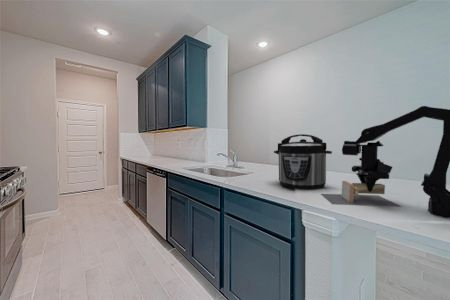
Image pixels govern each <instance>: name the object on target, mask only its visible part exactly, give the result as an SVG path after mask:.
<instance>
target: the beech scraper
mask: <svg viewBox="0 0 450 300" xmlns="http://www.w3.org/2000/svg"><path fill="white" fill-rule="evenodd" d="M351 184H353V185H354V195H360V194H364V195H385V191H386V190H385V189H386V184H383V183H375V185H374V187H373V189H372V191H371V192H369V191H368V189H367V186H366V183H361V182H352V183H351Z"/></svg>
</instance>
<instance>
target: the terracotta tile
mask: <svg viewBox="0 0 450 300" xmlns="http://www.w3.org/2000/svg"><path fill="white" fill-rule="evenodd" d="M341 194H342V198H344V199H345V200H347V201H348V202H349V203H353V199H354V185H353V184H352V183H351V182H349V181H347V180H342V182H341Z"/></svg>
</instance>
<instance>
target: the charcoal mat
mask: <svg viewBox="0 0 450 300" xmlns="http://www.w3.org/2000/svg"><path fill="white" fill-rule="evenodd" d="M320 195H321V196H322V197H323V198H324V199H325V200H327V201H328V202H329V203H330V204H331V205H338V206H339V205H341V206H342V205H343V206H363V207H364V206H367V207H368V206H369V207H371V206H372V207H393V208H394V207H395V208H396V207H399V208H402V207H403V206H402V205H400V204H398V203H396V202H393V201H391V200H389V199H386V198H385V197H382V196H380V195H379V194H358V195H354V199H353V203H349V202H348V201H347V200H345V199H344V198H342V193H320Z"/></svg>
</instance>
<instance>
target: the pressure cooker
mask: <svg viewBox="0 0 450 300" xmlns="http://www.w3.org/2000/svg"><path fill="white" fill-rule="evenodd" d="M296 137H310V138H311V140H312V141H307V139H305V138H303V139H302V138H301V139H300V140H299V141H291V139H292V138H296ZM273 153H274V154H277V155H278V181H279V184H280V185H281V186H282V187H285V188H289V189H291V190H293V189H297V190H319V189H323V188H324V187H325V186H326V181H327V154H329V155H332V153H333V151H332V150H327V142H323V139H321V138H319V137H318V136H315V135H311V134H293V135H290V136H287V137H285V138H283V139H282V140H281V141H280V143H279V142H278V143H277V150H274V151H273Z"/></svg>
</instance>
